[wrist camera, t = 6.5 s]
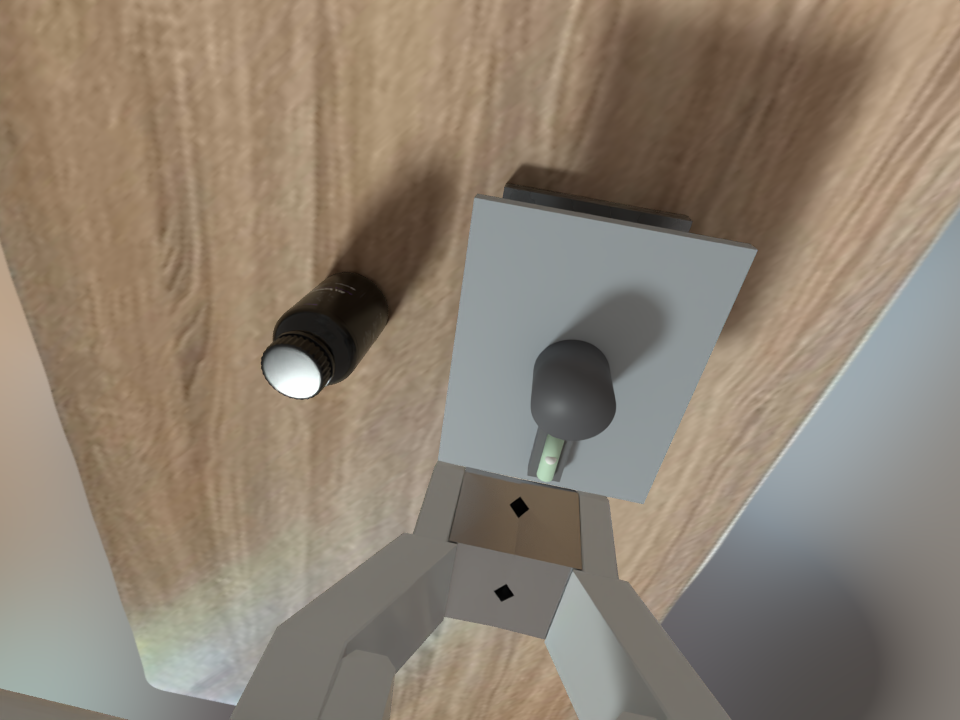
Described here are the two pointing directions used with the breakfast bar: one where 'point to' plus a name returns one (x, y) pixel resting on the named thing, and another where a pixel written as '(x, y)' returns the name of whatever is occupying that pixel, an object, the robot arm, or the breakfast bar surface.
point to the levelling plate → (587, 302)
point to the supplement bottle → (324, 335)
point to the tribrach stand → (597, 207)
